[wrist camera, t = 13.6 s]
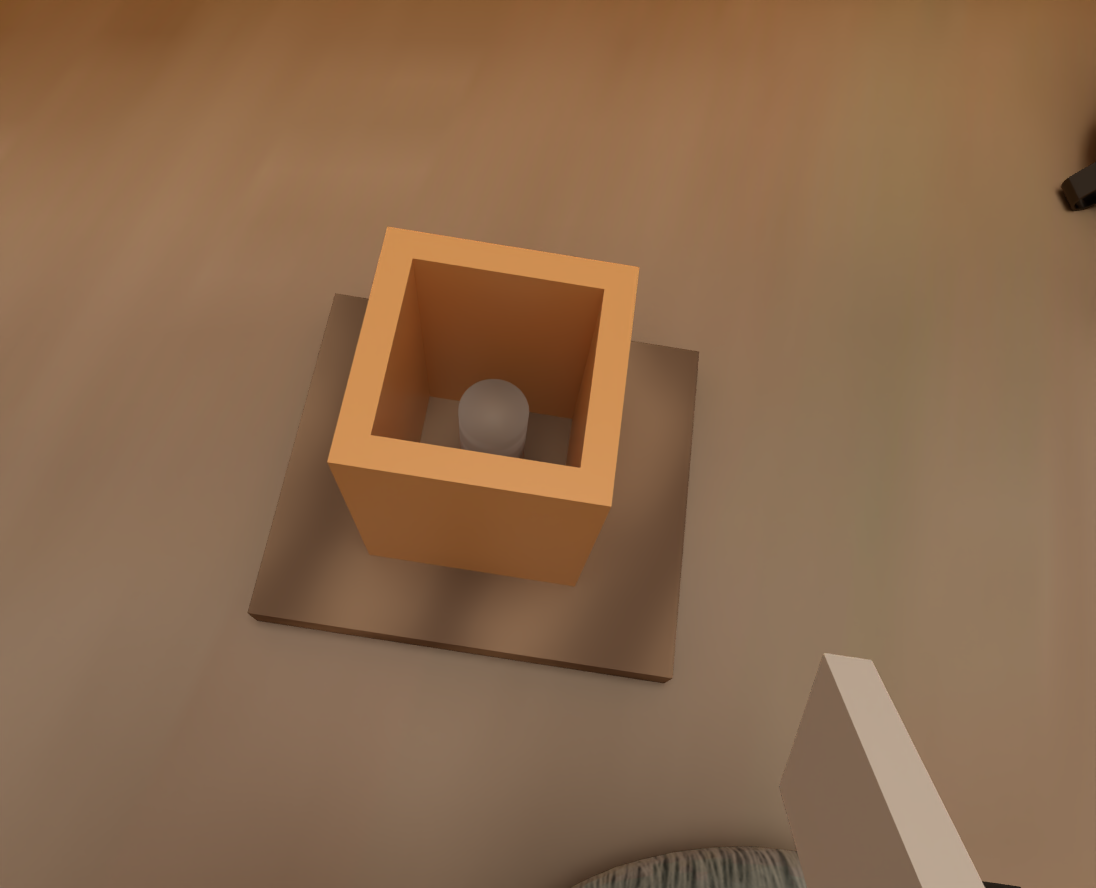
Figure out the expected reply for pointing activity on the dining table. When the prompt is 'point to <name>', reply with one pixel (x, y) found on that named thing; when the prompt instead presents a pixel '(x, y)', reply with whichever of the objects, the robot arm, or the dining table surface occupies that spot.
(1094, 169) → the coffee press
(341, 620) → the shaft stand
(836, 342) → the dining table surface
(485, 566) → the spacer sleeve
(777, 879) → the grey green rounded lump
